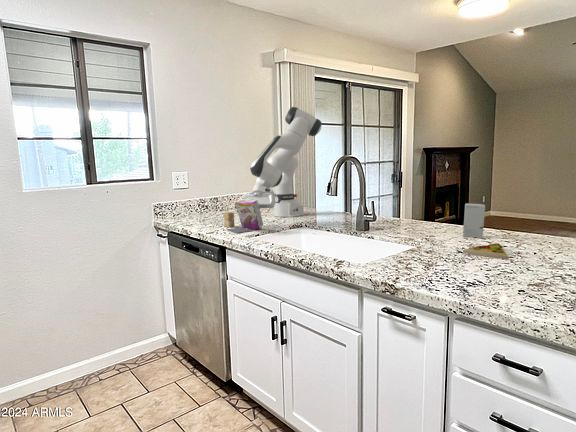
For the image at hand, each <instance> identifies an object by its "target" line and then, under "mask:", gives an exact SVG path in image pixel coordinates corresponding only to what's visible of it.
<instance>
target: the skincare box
mask: <svg viewBox="0 0 576 432" xmlns="http://www.w3.org/2000/svg"><path fill="white" fill-rule="evenodd" d="M485 213H486V205H485V204H482V203H465V204H464V216H463V218H464V219H463V229H462V237H463V238H470V237H477V238H476V239H483V236H484V224H485Z"/></svg>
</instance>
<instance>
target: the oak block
mask: <svg viewBox="0 0 576 432" xmlns="http://www.w3.org/2000/svg"><path fill="white" fill-rule="evenodd" d="M223 222H224V223H223V225H224V228H227V227H228V229H230V228H229V227H231V228H235V227H234V226H235V212H233V211H232V212H231V211H227V212H226V211H225V212H223Z"/></svg>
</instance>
